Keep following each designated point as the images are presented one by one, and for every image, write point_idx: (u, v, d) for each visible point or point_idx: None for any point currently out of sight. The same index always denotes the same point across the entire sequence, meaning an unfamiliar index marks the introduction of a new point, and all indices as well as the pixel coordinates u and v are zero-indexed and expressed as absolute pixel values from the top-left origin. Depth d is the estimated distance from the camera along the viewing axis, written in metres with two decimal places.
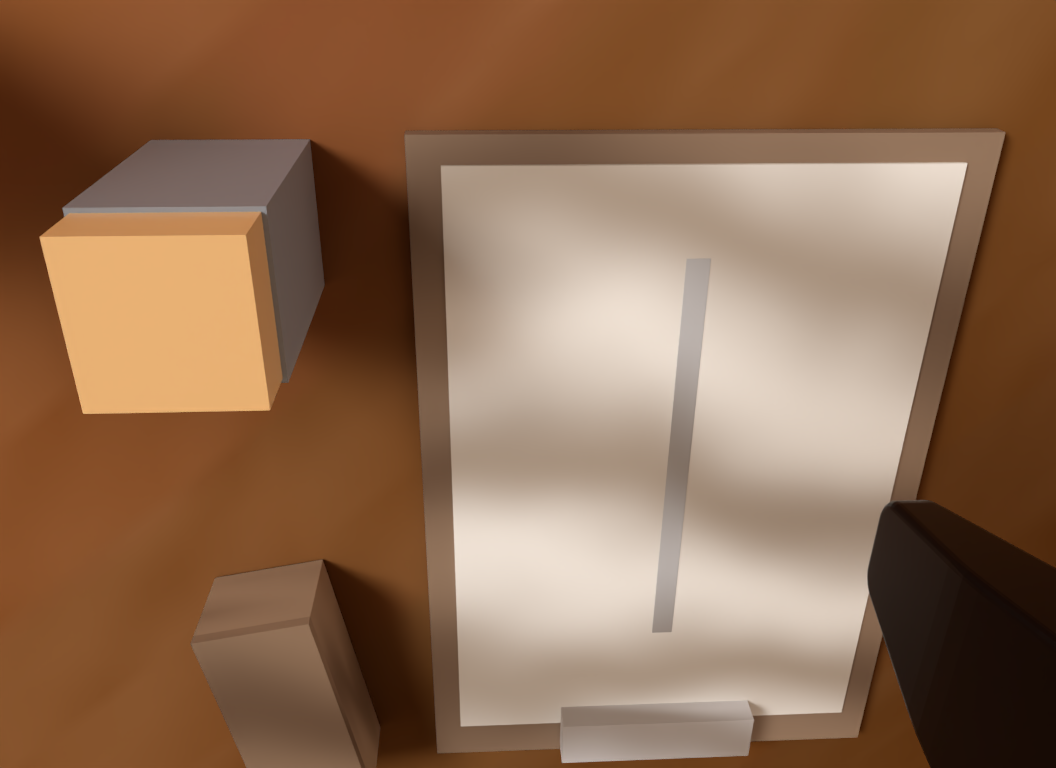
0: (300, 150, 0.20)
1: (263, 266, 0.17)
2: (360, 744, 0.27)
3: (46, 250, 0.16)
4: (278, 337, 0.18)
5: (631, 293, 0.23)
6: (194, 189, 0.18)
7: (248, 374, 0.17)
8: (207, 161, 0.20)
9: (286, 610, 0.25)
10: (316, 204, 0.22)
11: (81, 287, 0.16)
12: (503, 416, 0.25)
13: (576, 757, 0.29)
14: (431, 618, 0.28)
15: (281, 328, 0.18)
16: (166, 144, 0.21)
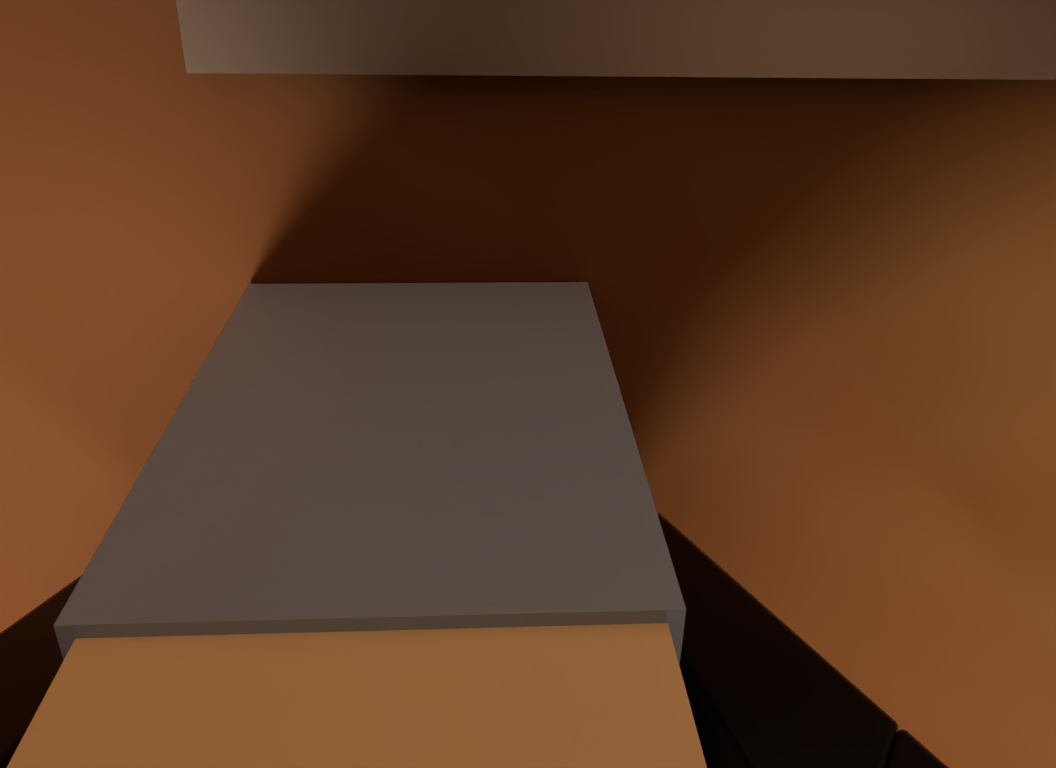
0: (227, 329, 0.09)
1: (223, 682, 0.05)
2: None
3: None
4: (517, 623, 0.05)
5: None
6: None
7: None
8: None
9: None
10: (395, 283, 0.10)
11: None
12: None
13: None
14: None
15: (485, 614, 0.05)
16: None
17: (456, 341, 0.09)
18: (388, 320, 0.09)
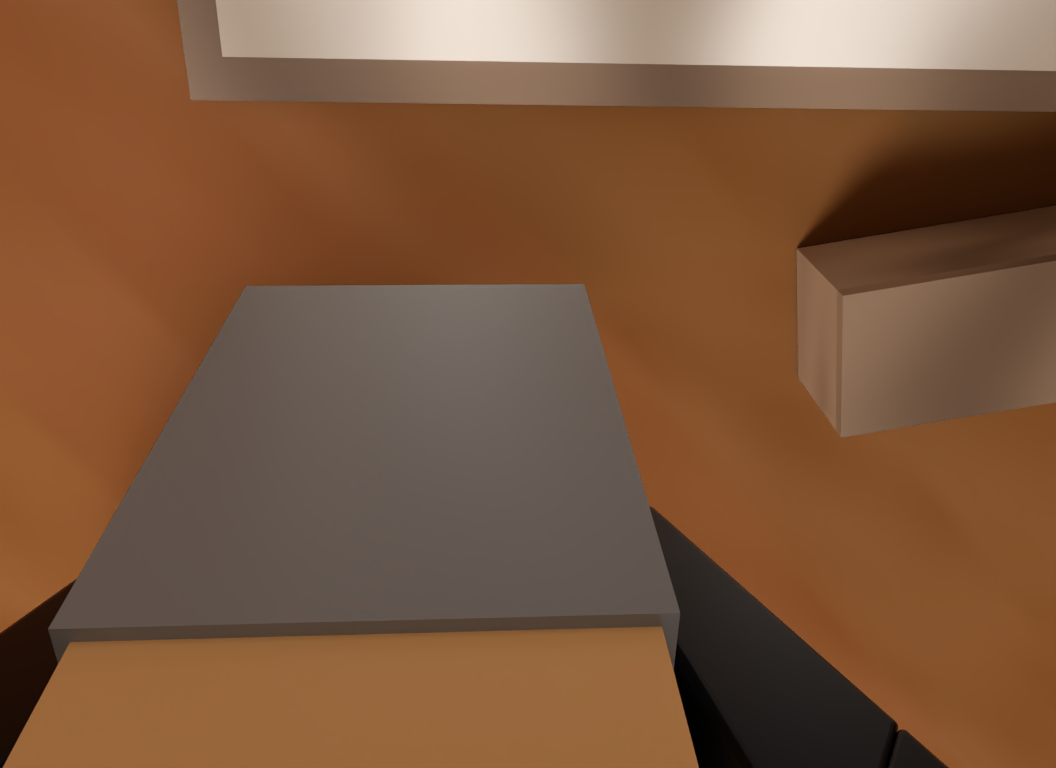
0: (223, 331, 0.09)
1: (217, 686, 0.05)
2: None
3: None
4: (512, 625, 0.05)
5: None
6: None
7: None
8: None
9: (829, 314, 0.19)
10: (391, 285, 0.10)
11: None
12: None
13: None
14: (925, 107, 0.18)
15: (479, 617, 0.05)
16: None
17: (452, 343, 0.09)
18: (384, 322, 0.09)
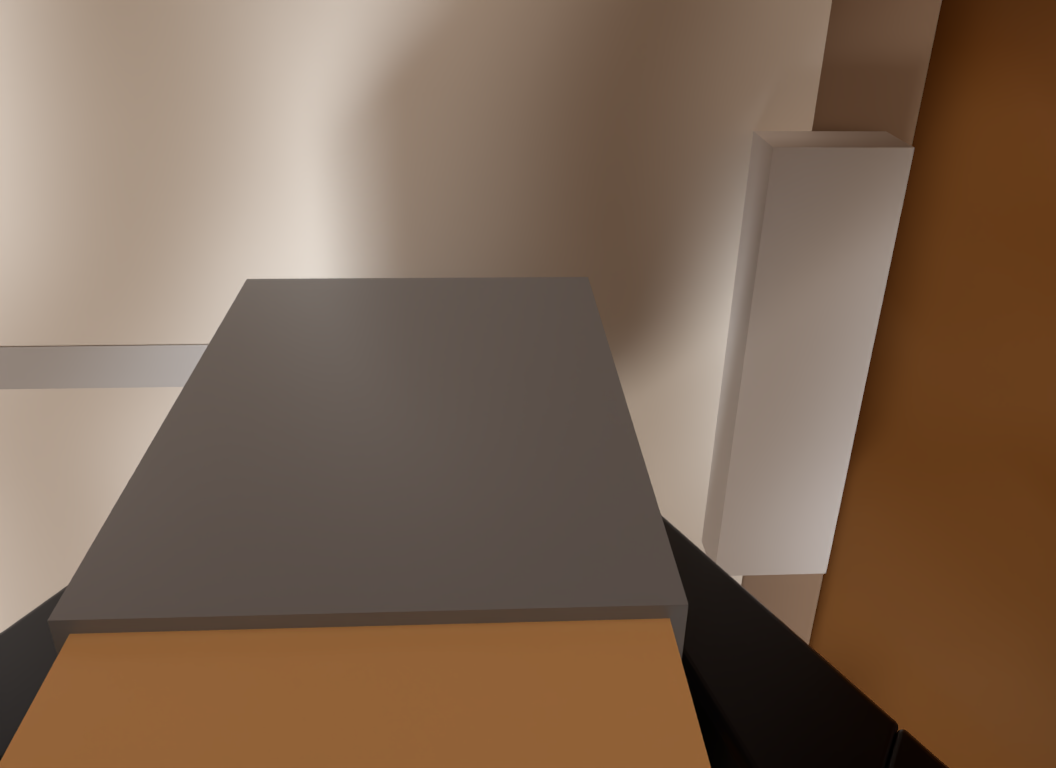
0: None
1: (219, 678, 0.05)
2: None
3: None
4: (517, 619, 0.05)
5: None
6: None
7: None
8: None
9: None
10: (394, 278, 0.10)
11: None
12: None
13: (815, 548, 0.13)
14: None
15: (484, 609, 0.05)
16: None
17: (455, 336, 0.09)
18: (387, 315, 0.09)
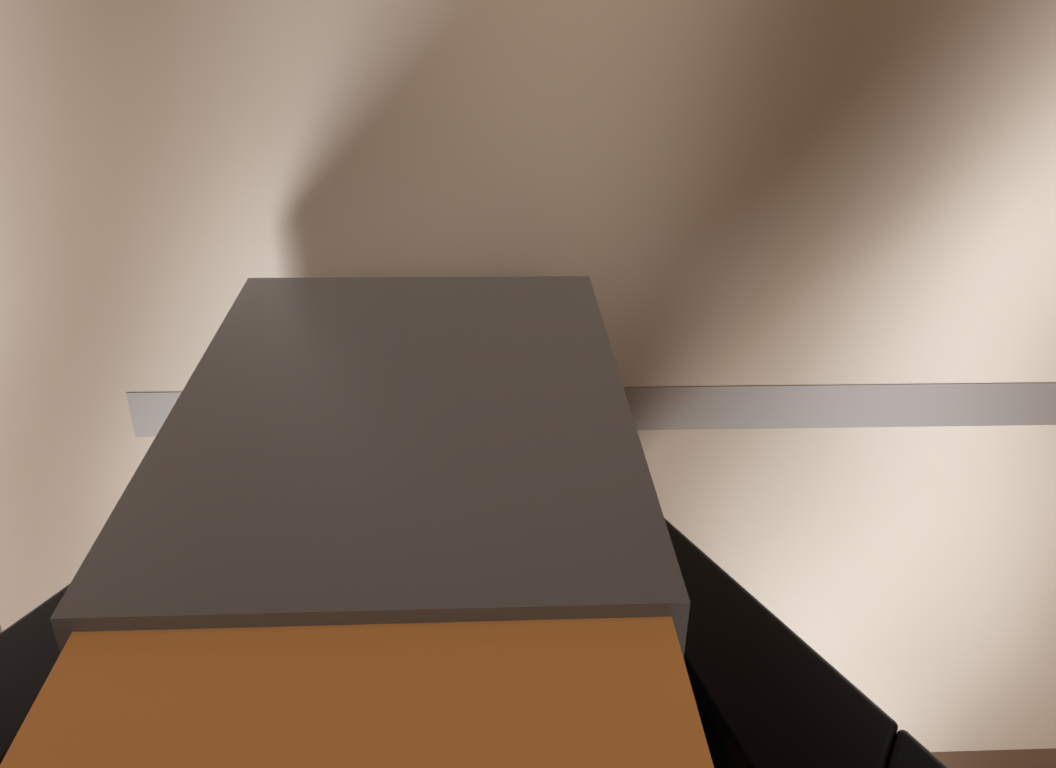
0: None
1: (221, 676, 0.05)
2: None
3: None
4: (519, 616, 0.05)
5: None
6: None
7: None
8: None
9: None
10: (395, 277, 0.10)
11: None
12: None
13: None
14: None
15: (486, 607, 0.05)
16: None
17: (457, 334, 0.09)
18: (388, 314, 0.09)
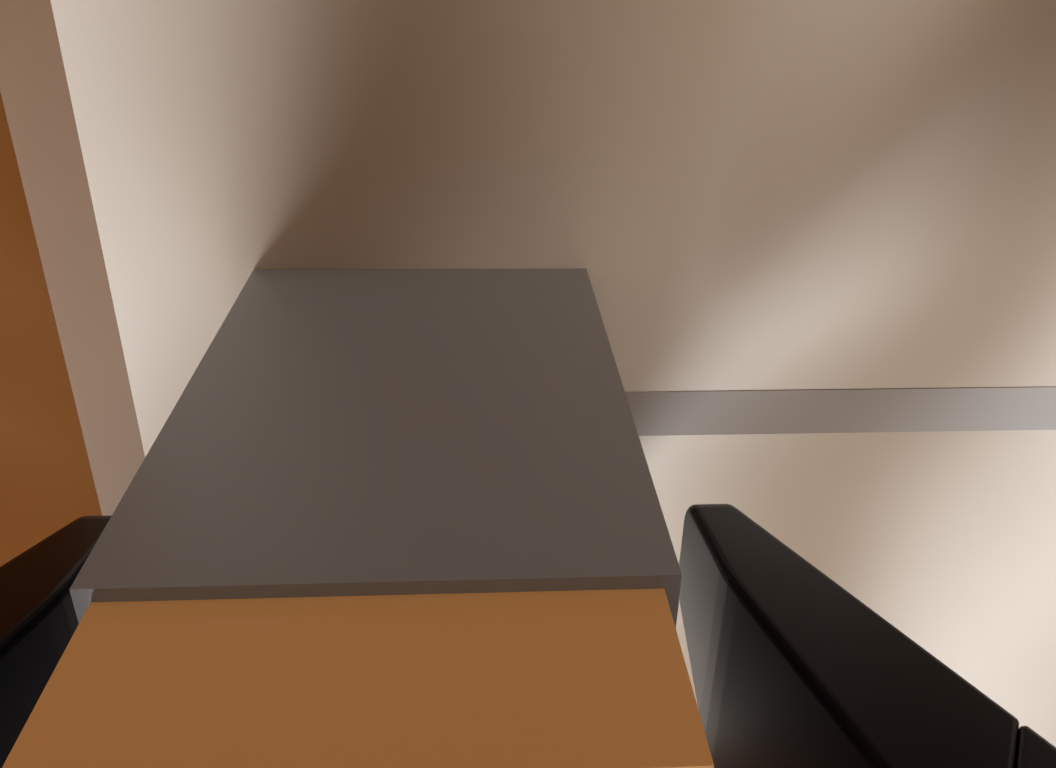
0: (232, 313, 0.09)
1: (234, 643, 0.05)
2: None
3: None
4: (518, 588, 0.06)
5: None
6: None
7: None
8: None
9: None
10: (397, 269, 0.10)
11: None
12: None
13: None
14: None
15: (486, 579, 0.06)
16: None
17: (457, 324, 0.09)
18: (390, 304, 0.09)
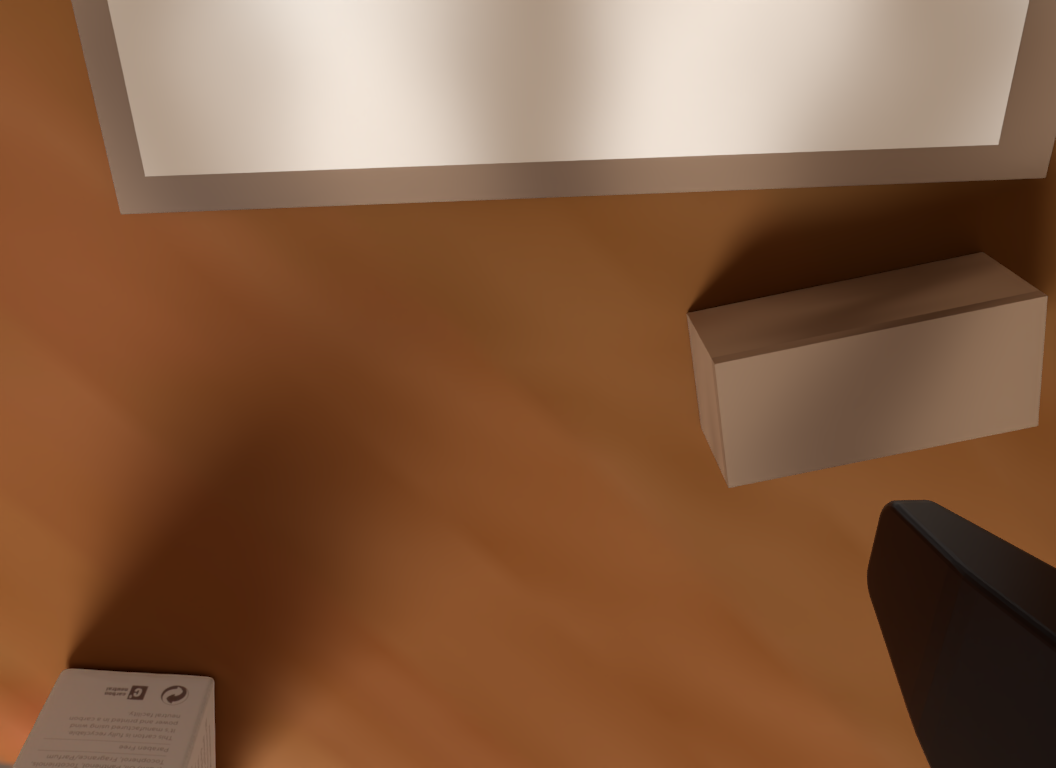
0: None
1: None
2: (952, 303, 0.20)
3: None
4: None
5: None
6: None
7: None
8: None
9: (709, 378, 0.20)
10: None
11: None
12: (467, 94, 0.19)
13: None
14: (789, 186, 0.20)
15: None
16: None
17: None
18: None
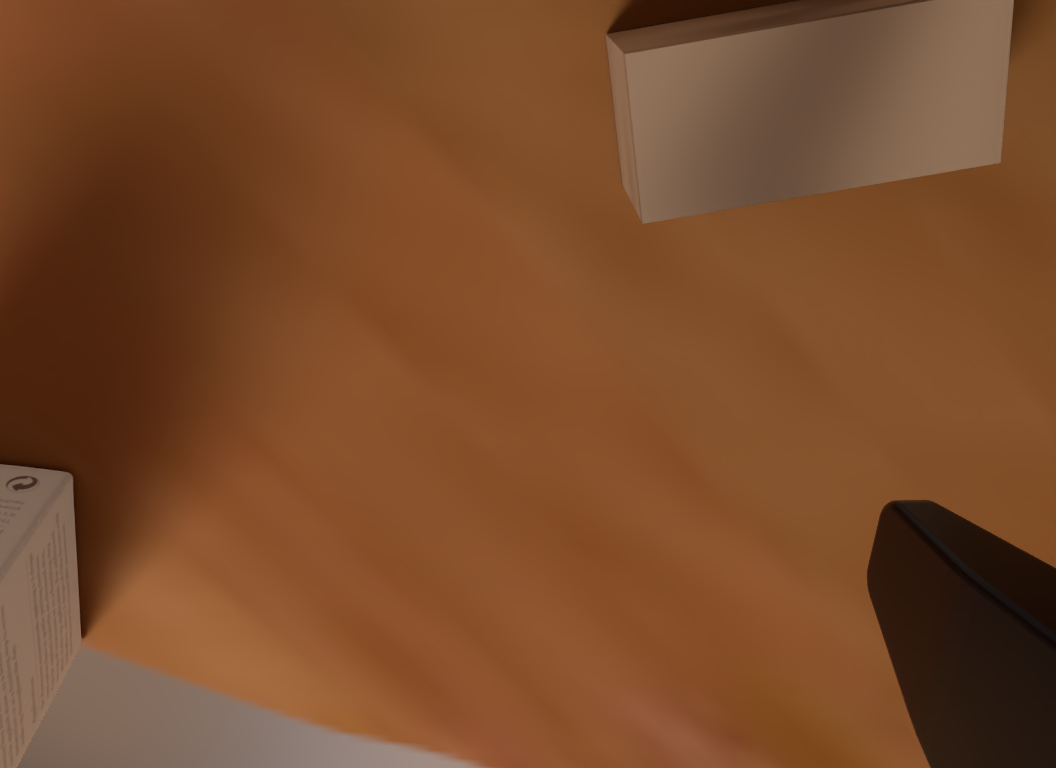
0: None
1: None
2: (904, 0, 0.17)
3: None
4: None
5: None
6: None
7: None
8: None
9: (623, 87, 0.18)
10: None
11: None
12: None
13: None
14: None
15: None
16: None
17: None
18: None
